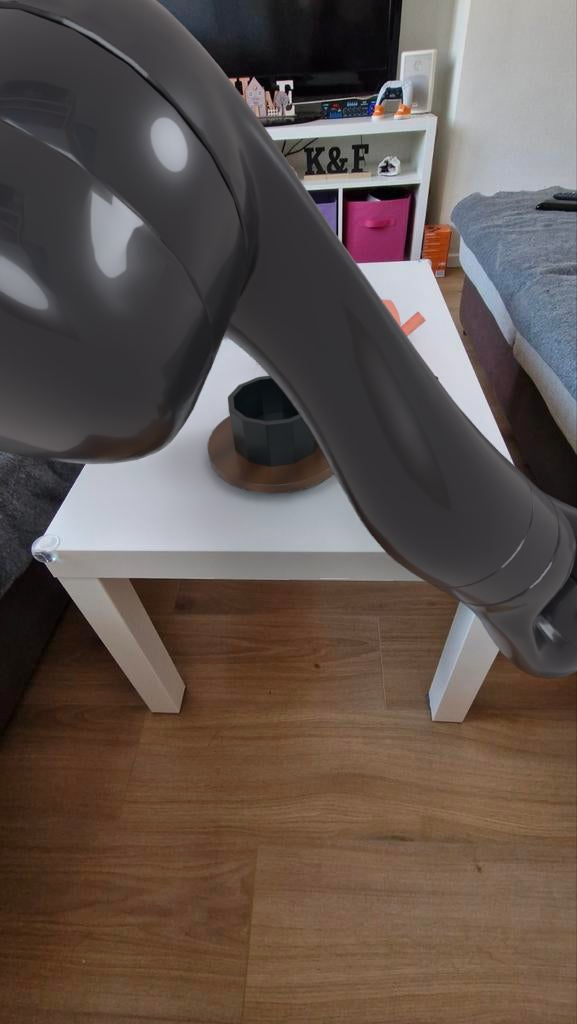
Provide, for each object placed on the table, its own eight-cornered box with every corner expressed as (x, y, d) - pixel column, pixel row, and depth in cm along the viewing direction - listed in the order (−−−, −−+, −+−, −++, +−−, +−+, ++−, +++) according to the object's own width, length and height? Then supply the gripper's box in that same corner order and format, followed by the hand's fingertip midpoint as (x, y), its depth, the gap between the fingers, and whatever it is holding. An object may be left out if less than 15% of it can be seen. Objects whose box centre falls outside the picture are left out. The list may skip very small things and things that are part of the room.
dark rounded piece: (183, 475, 61) (151, 359, 50) (246, 400, 73) (232, 294, 62) (319, 508, 55) (317, 386, 45) (365, 421, 67) (371, 308, 56)
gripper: (503, 394, 41) (400, 317, 53) (358, 433, 38) (283, 342, 50) (483, 465, 46) (393, 380, 58) (354, 503, 43) (287, 406, 55)
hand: (342, 362), depth 54 cm, fingers closed
